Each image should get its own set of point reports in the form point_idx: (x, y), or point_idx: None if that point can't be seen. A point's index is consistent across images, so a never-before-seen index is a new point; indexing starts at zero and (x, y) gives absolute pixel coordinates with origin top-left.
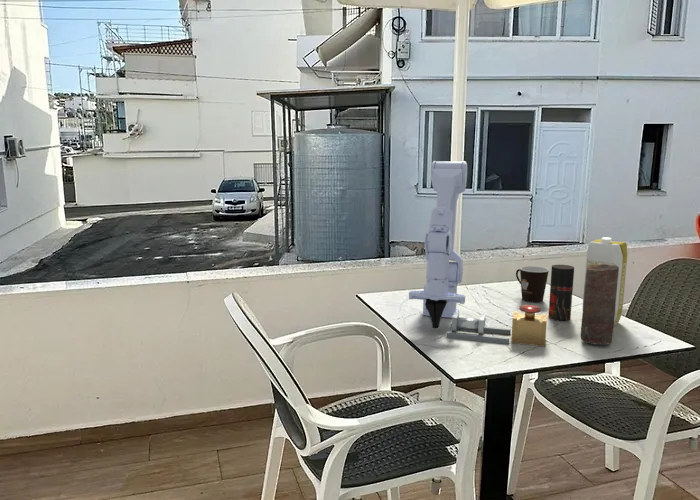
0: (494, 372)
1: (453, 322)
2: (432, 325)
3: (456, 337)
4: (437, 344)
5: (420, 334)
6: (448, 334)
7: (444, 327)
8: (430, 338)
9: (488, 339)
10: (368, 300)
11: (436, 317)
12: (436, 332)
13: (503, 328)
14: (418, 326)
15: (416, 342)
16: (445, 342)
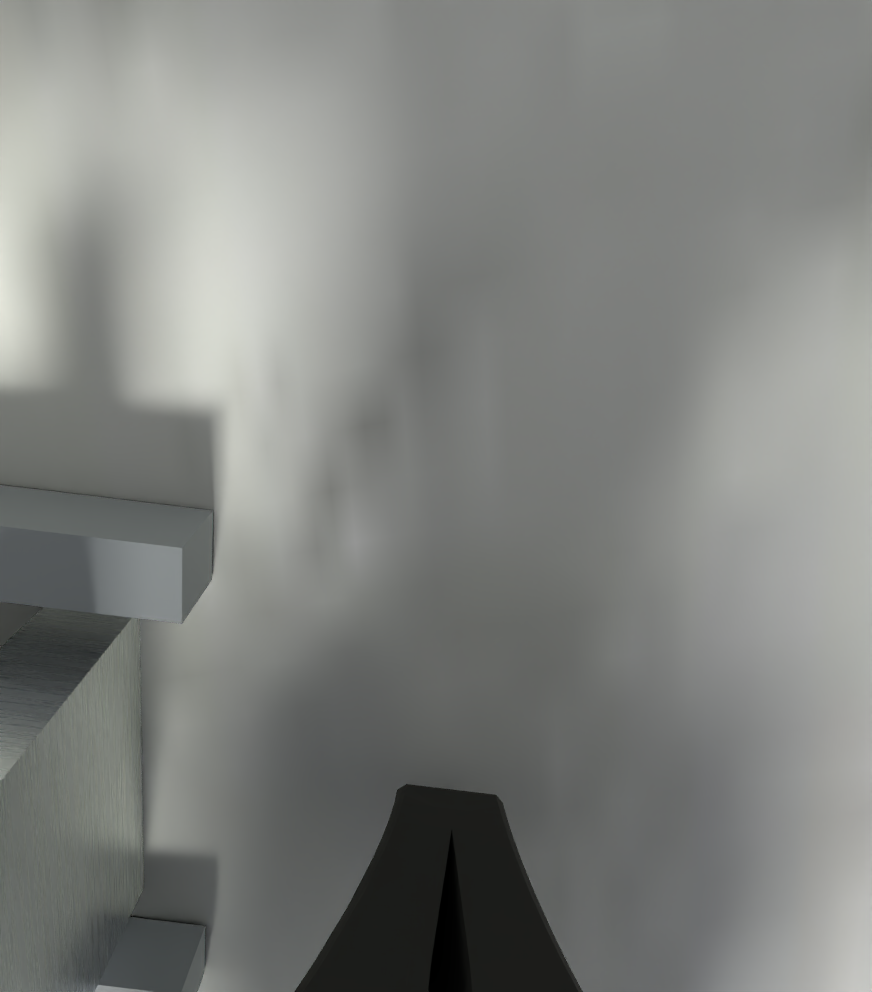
0: None
1: None
2: (507, 829)
3: (8, 490)
4: (347, 2)
5: (729, 577)
6: (154, 531)
7: (311, 960)
8: (524, 383)
9: None
10: None
11: (410, 970)
12: (425, 727)
13: None
14: (749, 948)
15: (849, 37)
16: (189, 191)
